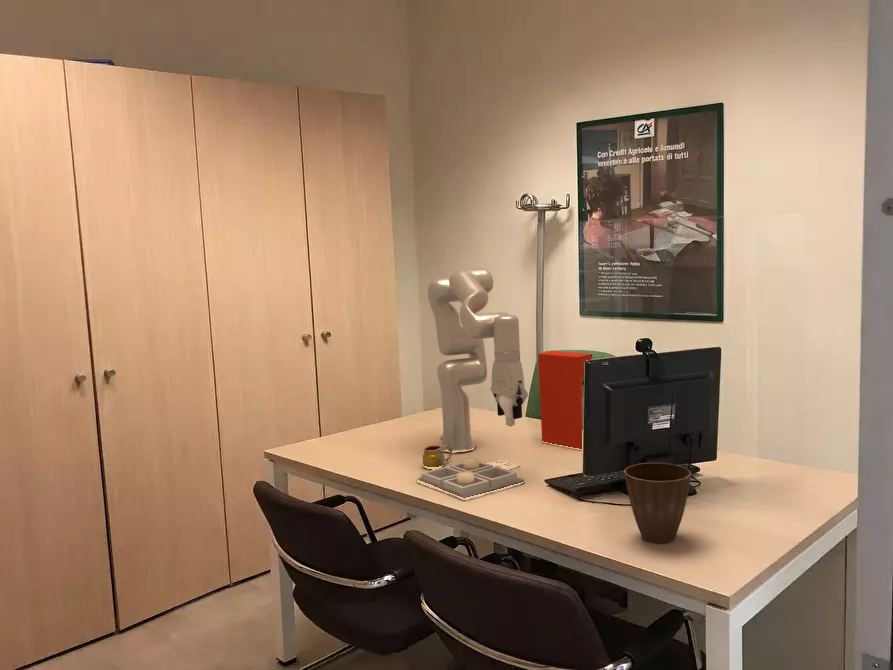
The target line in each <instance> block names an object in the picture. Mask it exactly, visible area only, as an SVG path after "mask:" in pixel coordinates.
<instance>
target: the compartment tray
mask: <svg viewBox="0 0 893 670" xmlns="http://www.w3.org/2000/svg"><path fill="white" fill-rule="evenodd" d="M420 476H421V477H419V478H417V479H418V480H420V481H423V482H425V483H428V484H431V485H433V486H435V487H438V488H440V489H442V490H444V491H447V492H449V493H452V494H455V495H457V496H460V497H463V498H466V497H470V496H474V495H478V494H482V493H486V492H490V491H494V490H497V489H501V488H504V487H507V486H510V485H514V484H518V483H521V482H524V483H525V479H522V478H519V477H518V473H517V472H515V471H512V470H506V469H502V468H499V467H493V465H490V464H486V462H482V461H480V458H478V457H475V456H469V457H465V458H462V462H460V463H455V464H452V465H449V466H445V467H444V466H443V467H442V468H439V469H435V470H428V471H425V472H421V474H420Z"/></svg>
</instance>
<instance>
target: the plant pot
mask: <svg viewBox="0 0 893 670" xmlns="http://www.w3.org/2000/svg"><path fill="white" fill-rule="evenodd" d="M623 471H624V478H625V482H626V483H625V484H626V489H627V495H628V498H629V502H630V506H631V510H632V513H633V516H634V520H635V522H636V523H635V524H636V525H637V527H638V530H639V533H640V535H641V538H642V539H643V540H644V541H646V542H649V543H653V542H654V544H666V542H668V543H671V542H674V540H675V538H676V536H677V534H678V530H679V528H680V525H681V523H682V519H683V516H684V512H685V509H686V505H687V500H688V497H689V496H688V494H689V489H690V482H691V476H692V472H691V471H690V469H689V468H688V467H684V466H682V465H678V464H673V463H667V462H643V463H642V462H641V463H637V464H632V465H629V466H627V467H626V468H625V469H624V470H623ZM670 541H671V542H670Z"/></svg>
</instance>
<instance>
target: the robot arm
mask: <svg viewBox="0 0 893 670" xmlns="http://www.w3.org/2000/svg"><path fill="white" fill-rule="evenodd" d="M493 288H494V278H493V276H492V273H491V272H490V270H488V269H486V268H484V267H483V268H482V267H477V268H476V267H474V268H462V269H461V268H460V269H456V270H455V271H453V272H452V273H451V274H450V276H449V277H441V278H437V279H436V278H435V279H433V280H431V281H430V282H429V284H428V287H427V299H428V303H429V306H430V308H431V310H432V313H433V314H432V315H433V316H434V320H435V321H434V322H435V331H436V339H437V345H438V350H439V353H440V354H441V355H442V356H446V357H447V356H450V357H451V356H460V355H468V357H465V358H452V359H448V360H445V361H442V362H440V364H439V365H438V367H437V370H436V373H437V380H438V383H439V387H440V388H439V390H440V396H441V397H440V398H441V411H442V430H443V434H442V435H440V436H439V440H441V441H442V444H440V446H441V448H443V447H444V446H446V445H447V446H450V447H451V449H452V451H462V450H469V449H472V448H474V447H475V446H476V444H475V443H474V442H472V433H471V431H472V430H471V414H470V413H471V412H470V399H469V396H468V394H467V393H466V392H465V391H464V389H463V388H462V387H466V386H473V385H474V386H475V385H481V384H483V383H485V381H486V380H487V378H488V366H487V358H486V349H485V342H484V340H485V339H493V346H494V347H493V348H494V352H493V355H494V360H493V362H492V370H491V387H490V391H491V393H492V395H493V397H494V399H495V402H496V404H497V408H496V409H497V416H499V417H501V416H505V414H504V411H503V409H502V408H501V406H500V405H499V396H500V395H503V396H508V397H512V400H513V403H514V406H513V407H512V409H513V419H514V420H517V419H522V418H523V405H524V402H525V400H526V399H527V398H528V396H529V393H528V391H527V390H526V388H525V379H524V378H525V376H524V371H523V365H522V361H521V349H520V348H521V343H520V328H519V327H520V323H519V318H518V316H516V315H514V314H509V313H507V312H489V313H479V312H481V311H482V310H483V309H484V308H486V306H487V304H488V302H489V295H488V294H489V293H490V292H491V291H492V289H493ZM453 302H454V303H456V302H460V303H461V306H460V309H459V312H458V311H457V309H456V308H455V307H454V305H453V304H451V303H453ZM516 394H517V395H516ZM516 397H518V400H517V399H516ZM473 444H474V445H473ZM476 447H477V446H476ZM444 450H448V451H449V448H445V449H444Z"/></svg>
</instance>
